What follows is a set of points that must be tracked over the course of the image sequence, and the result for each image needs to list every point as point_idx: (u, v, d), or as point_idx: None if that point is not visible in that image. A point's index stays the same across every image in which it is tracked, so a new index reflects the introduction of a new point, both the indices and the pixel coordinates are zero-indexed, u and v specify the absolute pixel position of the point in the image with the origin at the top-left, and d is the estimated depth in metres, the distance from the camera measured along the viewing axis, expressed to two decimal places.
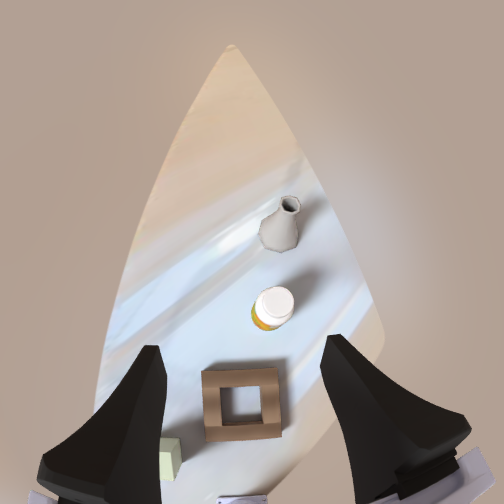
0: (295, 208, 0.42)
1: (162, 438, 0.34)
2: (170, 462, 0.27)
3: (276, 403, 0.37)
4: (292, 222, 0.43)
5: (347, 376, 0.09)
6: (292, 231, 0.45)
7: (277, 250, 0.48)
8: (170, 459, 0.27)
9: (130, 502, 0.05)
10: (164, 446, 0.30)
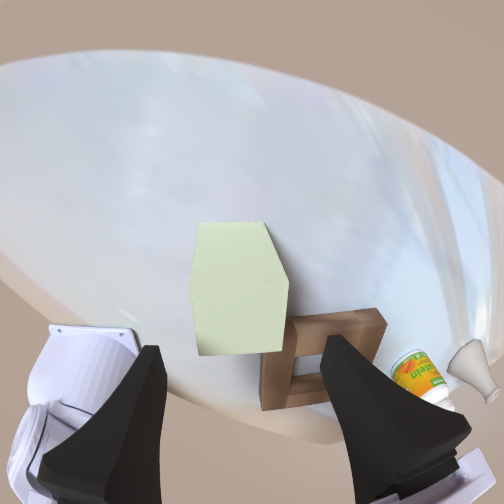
0: None
1: None
2: (254, 351, 0.15)
3: (313, 401, 0.27)
4: (477, 388, 0.28)
5: (347, 376, 0.09)
6: (467, 382, 0.30)
7: (454, 360, 0.32)
8: (262, 350, 0.15)
9: (130, 502, 0.05)
10: None
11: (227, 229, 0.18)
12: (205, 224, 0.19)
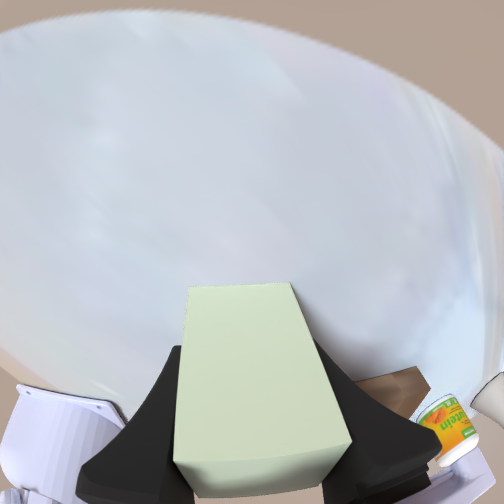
0: None
1: None
2: (279, 492, 0.07)
3: None
4: (500, 424, 0.21)
5: None
6: (491, 417, 0.23)
7: (479, 395, 0.25)
8: (290, 489, 0.08)
9: None
10: None
11: (234, 303, 0.11)
12: (199, 289, 0.12)
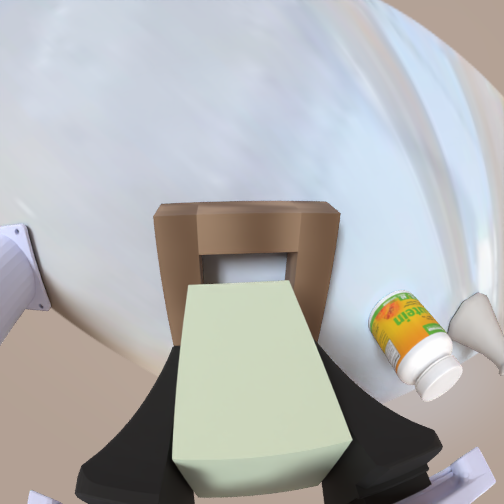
0: None
1: None
2: (279, 491, 0.07)
3: None
4: (487, 356, 0.22)
5: None
6: (474, 348, 0.24)
7: (455, 318, 0.26)
8: (290, 489, 0.08)
9: None
10: None
11: (233, 301, 0.11)
12: (199, 287, 0.12)
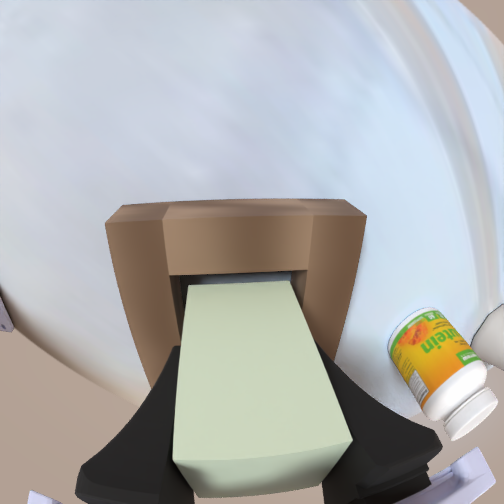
0: None
1: None
2: (279, 492, 0.07)
3: None
4: None
5: None
6: (499, 365, 0.19)
7: (479, 333, 0.21)
8: (291, 489, 0.08)
9: None
10: None
11: (234, 301, 0.11)
12: (199, 287, 0.12)
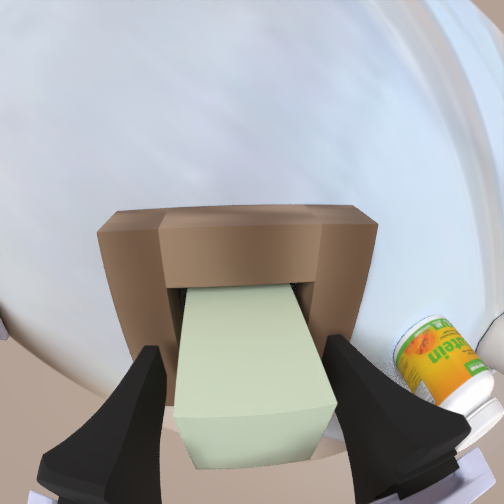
0: None
1: None
2: (272, 464, 0.09)
3: None
4: None
5: (347, 376, 0.09)
6: None
7: (485, 339, 0.20)
8: (283, 462, 0.09)
9: (130, 502, 0.05)
10: None
11: None
12: None
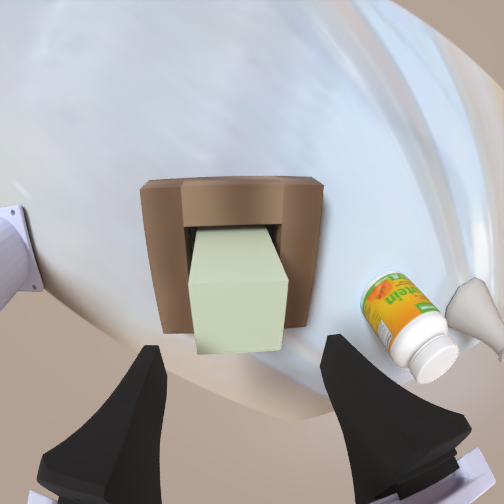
0: None
1: None
2: (253, 350, 0.15)
3: None
4: (486, 342, 0.21)
5: (347, 376, 0.09)
6: (473, 334, 0.24)
7: (452, 304, 0.26)
8: (261, 349, 0.15)
9: (130, 502, 0.05)
10: None
11: (226, 228, 0.18)
12: None
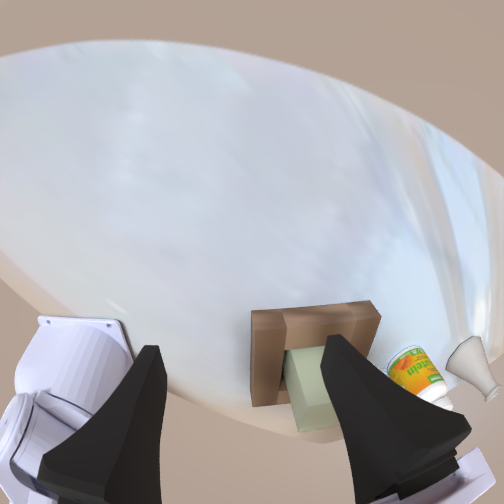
0: None
1: None
2: (332, 425, 0.20)
3: None
4: (476, 386, 0.27)
5: (347, 376, 0.09)
6: (467, 379, 0.29)
7: (453, 357, 0.32)
8: (336, 424, 0.20)
9: (130, 502, 0.05)
10: None
11: None
12: None
